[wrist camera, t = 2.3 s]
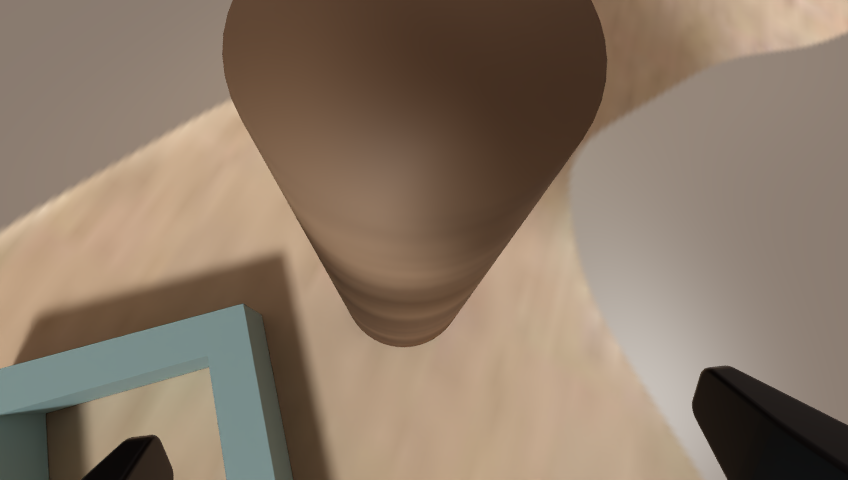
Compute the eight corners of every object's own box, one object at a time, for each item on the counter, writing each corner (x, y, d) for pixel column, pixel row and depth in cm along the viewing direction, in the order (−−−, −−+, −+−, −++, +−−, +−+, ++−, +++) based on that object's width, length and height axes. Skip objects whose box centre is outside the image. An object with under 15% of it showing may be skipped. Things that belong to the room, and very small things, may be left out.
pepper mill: (476, 327, 20) (670, 158, 6) (361, 361, 19) (262, 263, 5) (442, 221, 21) (529, -124, 7) (333, 249, 21) (196, -70, 7)
